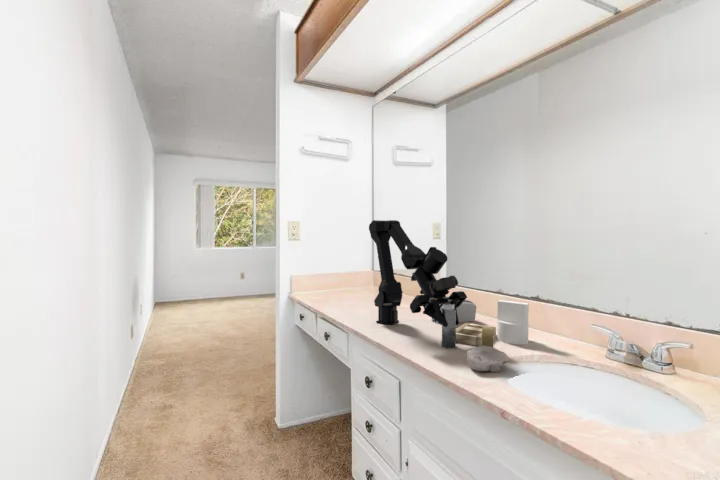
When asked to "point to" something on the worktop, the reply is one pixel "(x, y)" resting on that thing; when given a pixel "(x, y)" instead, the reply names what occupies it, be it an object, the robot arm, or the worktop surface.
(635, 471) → the worktop surface
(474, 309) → the grey curved block
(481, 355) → the fossil
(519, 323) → the cylinder with rectangular tab
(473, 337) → the block
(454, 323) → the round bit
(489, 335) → the square bit
